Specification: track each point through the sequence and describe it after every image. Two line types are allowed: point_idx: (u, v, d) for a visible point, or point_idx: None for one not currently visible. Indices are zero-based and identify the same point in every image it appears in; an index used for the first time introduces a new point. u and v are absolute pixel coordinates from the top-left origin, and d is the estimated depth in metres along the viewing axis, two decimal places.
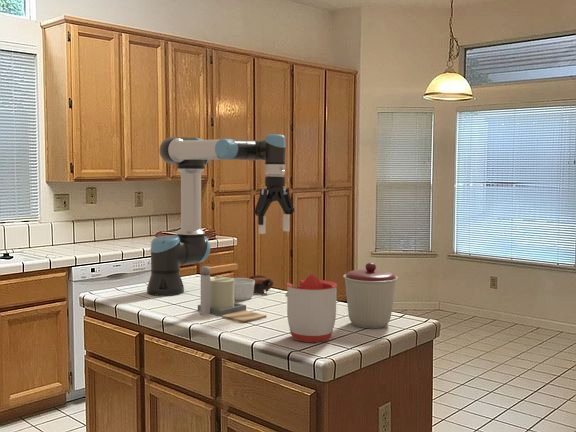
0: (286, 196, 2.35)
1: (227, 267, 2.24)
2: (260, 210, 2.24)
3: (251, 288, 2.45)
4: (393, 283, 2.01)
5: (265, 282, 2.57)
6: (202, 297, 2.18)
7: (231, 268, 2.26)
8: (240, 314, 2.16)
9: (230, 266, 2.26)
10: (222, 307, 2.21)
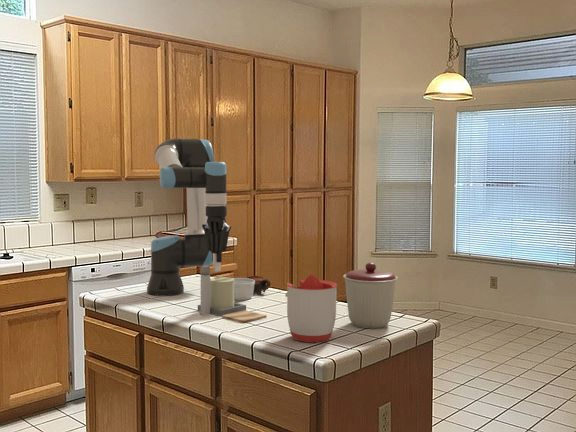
0: None
1: (227, 267, 2.25)
2: None
3: (251, 288, 2.45)
4: (393, 283, 2.01)
5: (262, 282, 2.56)
6: (202, 297, 2.18)
7: (230, 268, 2.26)
8: (240, 314, 2.16)
9: (230, 266, 2.26)
10: (222, 307, 2.21)
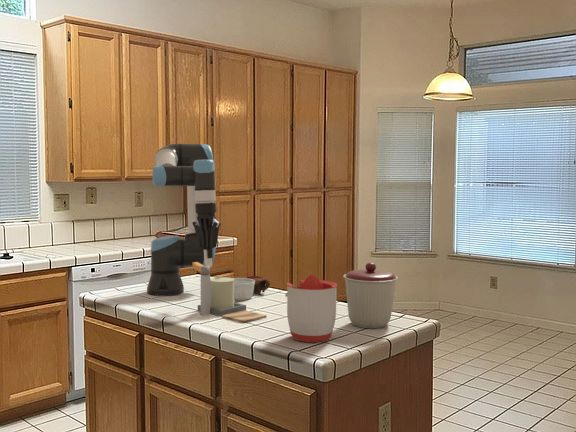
0: (200, 227, 2.26)
1: None
2: None
3: (251, 288, 2.45)
4: (393, 283, 2.01)
5: (262, 283, 2.55)
6: (202, 297, 2.18)
7: None
8: (240, 314, 2.16)
9: None
10: (222, 307, 2.21)
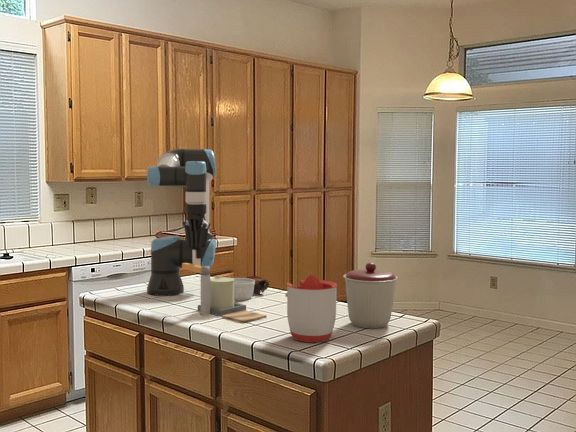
0: None
1: None
2: None
3: (251, 288, 2.45)
4: (393, 283, 2.01)
5: (261, 283, 2.55)
6: (202, 297, 2.18)
7: None
8: (240, 314, 2.16)
9: None
10: (222, 307, 2.21)
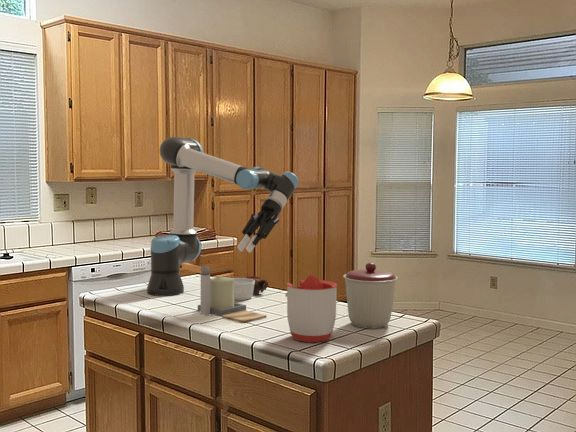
0: (254, 221, 2.42)
1: None
2: None
3: (251, 288, 2.45)
4: (393, 283, 2.01)
5: (260, 283, 2.55)
6: (202, 297, 2.18)
7: None
8: (240, 314, 2.16)
9: None
10: (222, 307, 2.21)
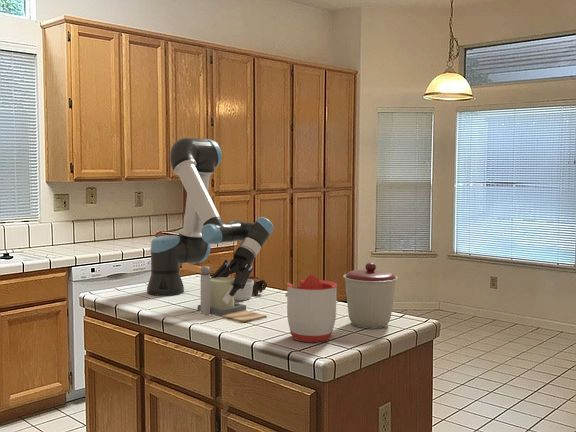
0: (225, 269, 2.33)
1: None
2: None
3: (250, 288, 2.44)
4: (393, 283, 2.01)
5: (259, 283, 2.54)
6: (202, 297, 2.18)
7: None
8: (240, 314, 2.16)
9: None
10: (222, 307, 2.21)
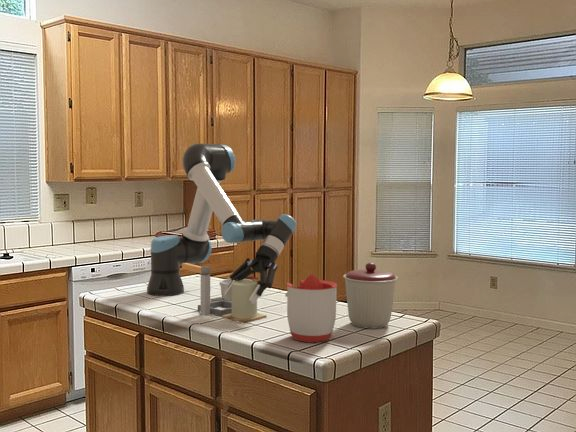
0: (247, 267, 2.23)
1: None
2: None
3: None
4: (393, 283, 2.01)
5: (258, 283, 2.54)
6: (202, 297, 2.18)
7: None
8: None
9: None
10: (245, 312, 2.10)
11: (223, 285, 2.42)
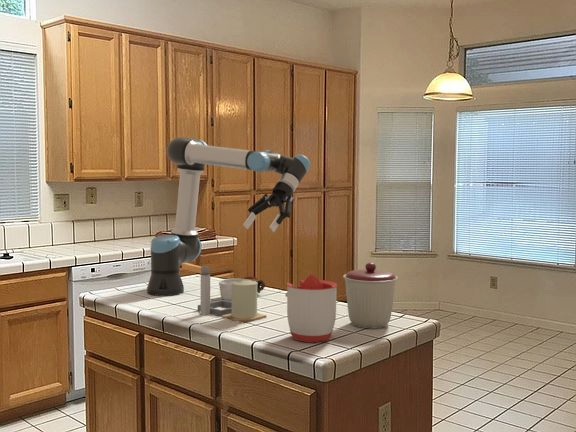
0: (264, 202, 2.40)
1: None
2: None
3: None
4: (393, 283, 2.01)
5: None
6: (202, 297, 2.18)
7: None
8: None
9: None
10: (245, 312, 2.10)
11: (222, 285, 2.41)
